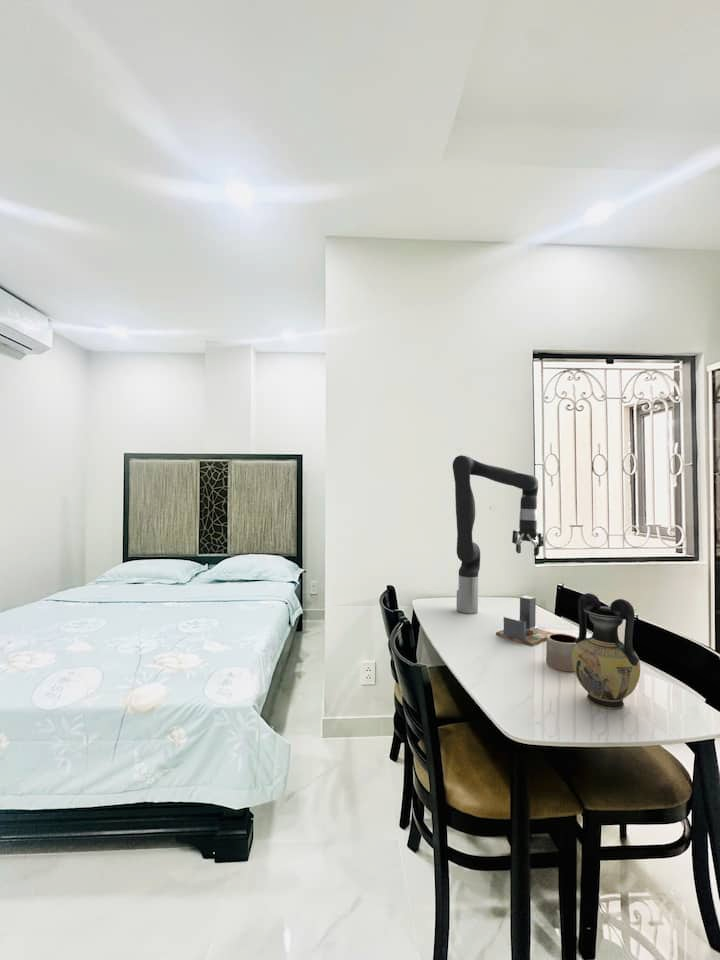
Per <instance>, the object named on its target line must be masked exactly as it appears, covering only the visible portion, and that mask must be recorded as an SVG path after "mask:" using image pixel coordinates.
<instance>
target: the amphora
mask: <svg viewBox="0 0 720 960" xmlns="http://www.w3.org/2000/svg"><path fill="white" fill-rule="evenodd" d="M577 607H578V608H577V609H578V632H579V633H578V637H577V639H576V640H575V643H576V644H577V645H576V646H575V648H574V650H573V655H572V661H573V668H574V671H575V672H574V673H575V676H576V678H577V681H578V682H579V684H580V685H581V686H582V688H583V689H585V691H586V692H587V696H586V699H587V700H588V701H589V702H590V703H591V704H593V705H595V706H597V707H600V708H603V709H610V710H619V709H618V708H620V709H622V708H623V707H624V706H625V702H624V699H626V698H627V697H629V696H630V695H631V694H632V693H634V692H633V691H634V690H635V689H636V687H637V685H638V683H639V679H640V677H641V662H640V658H639V656H638V655H637V653H636V651H635V650H634V647H633V635H634V624H635V610H634V606H633V605H632V604H631V602H629V601H628V600H625V599H622V598H618V599H615V600H613V601H612V602H611V604H610V606H603V605H602V606H601V601H600V599H599V597H598V596H597V595H595V594H593V593H588V592H587V593H584V594H581V596H580V597H579V599H578V605H577ZM587 614H588V619H589V621H590V622H591V623H592V625H593V631H592V635H591V636H590V637H587V636H588V635H587V631H588V625H587V623H588V621H587ZM624 620H625V625H624V637H623V641H621V640H620V637H619V632H618V629H619V627H620V626H621V625H622V624H623V622H624ZM621 707H622V708H621Z"/></svg>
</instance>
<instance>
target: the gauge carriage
mask: <svg viewBox="0 0 720 960" xmlns="http://www.w3.org/2000/svg"><path fill="white" fill-rule="evenodd" d="M536 598H537V597H535V596H529V595H523V596H520V597H519V620H521V621H525V622H526V634H528V635H534V633H537V632H538V629H539V627H538V626H536V610H537V609H536V606H537V605H536V602H537V599H536Z"/></svg>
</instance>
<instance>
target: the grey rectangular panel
mask: <svg viewBox="0 0 720 960" xmlns="http://www.w3.org/2000/svg"><path fill="white" fill-rule="evenodd" d="M503 630H504V635H507V636H511V637H514V638H517V639H521V640H526V622H525V621H521V620H520V619H516V618H512V617H510V616H505V615H504V616H503Z"/></svg>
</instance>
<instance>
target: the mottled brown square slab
mask: <svg viewBox="0 0 720 960" xmlns="http://www.w3.org/2000/svg"><path fill="white" fill-rule="evenodd" d="M553 633H554V632H551V631H546V630H543V629H539V628H538V632H537V633H534V635H528V634H526V640H521V639H517V638H514V637H511V636H507V635H504V629H501V630H499V631H496V632H495V636H498V637H500V638H504V639H507V640H511V641H515V642H517V643H520V644H525V645H528V646H531V647H533V646H536V645H539V644H541V643H543V642H547V635H548V634H553Z"/></svg>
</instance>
